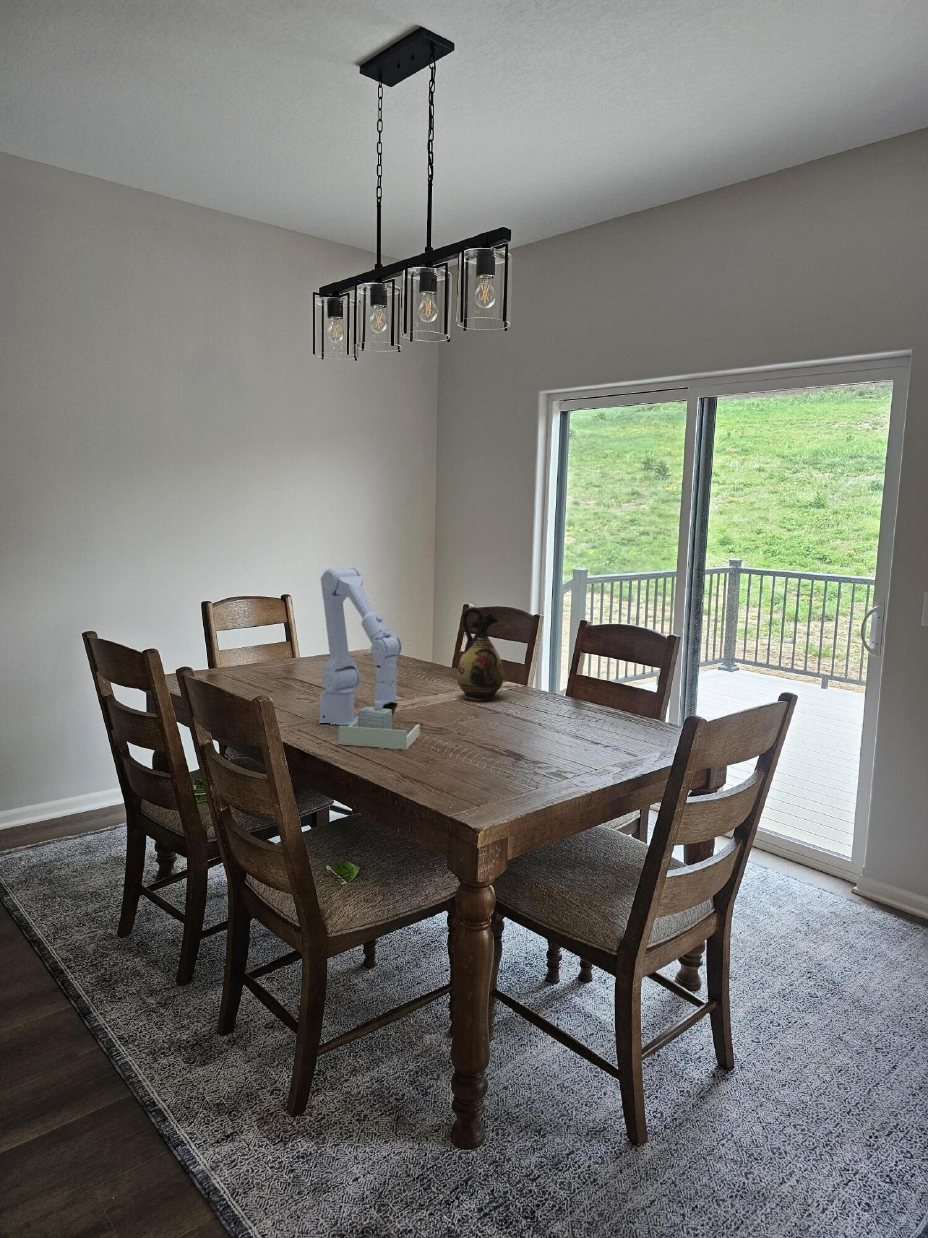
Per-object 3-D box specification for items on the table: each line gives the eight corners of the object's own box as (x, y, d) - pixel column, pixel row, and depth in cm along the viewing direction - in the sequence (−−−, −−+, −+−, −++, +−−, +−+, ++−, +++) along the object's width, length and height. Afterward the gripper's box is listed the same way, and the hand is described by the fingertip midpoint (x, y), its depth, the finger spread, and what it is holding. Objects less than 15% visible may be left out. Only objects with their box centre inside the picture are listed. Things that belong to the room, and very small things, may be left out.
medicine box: (392, 741, 215) (392, 709, 214) (384, 745, 211) (385, 712, 210) (366, 737, 218) (366, 706, 217) (358, 741, 214) (358, 709, 213)
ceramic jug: (504, 694, 274) (506, 605, 270) (502, 704, 258) (504, 611, 255) (454, 692, 275) (455, 604, 271) (448, 702, 260) (450, 609, 256)
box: (338, 745, 210) (338, 726, 210) (356, 730, 225) (356, 713, 224) (406, 750, 207) (406, 731, 207) (419, 735, 221) (419, 717, 221)
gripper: (392, 687, 211) (392, 738, 213) (407, 676, 226) (406, 724, 227) (366, 685, 213) (366, 736, 214) (382, 674, 227) (382, 722, 229)
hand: (385, 729), depth 221 cm, fingers closed
